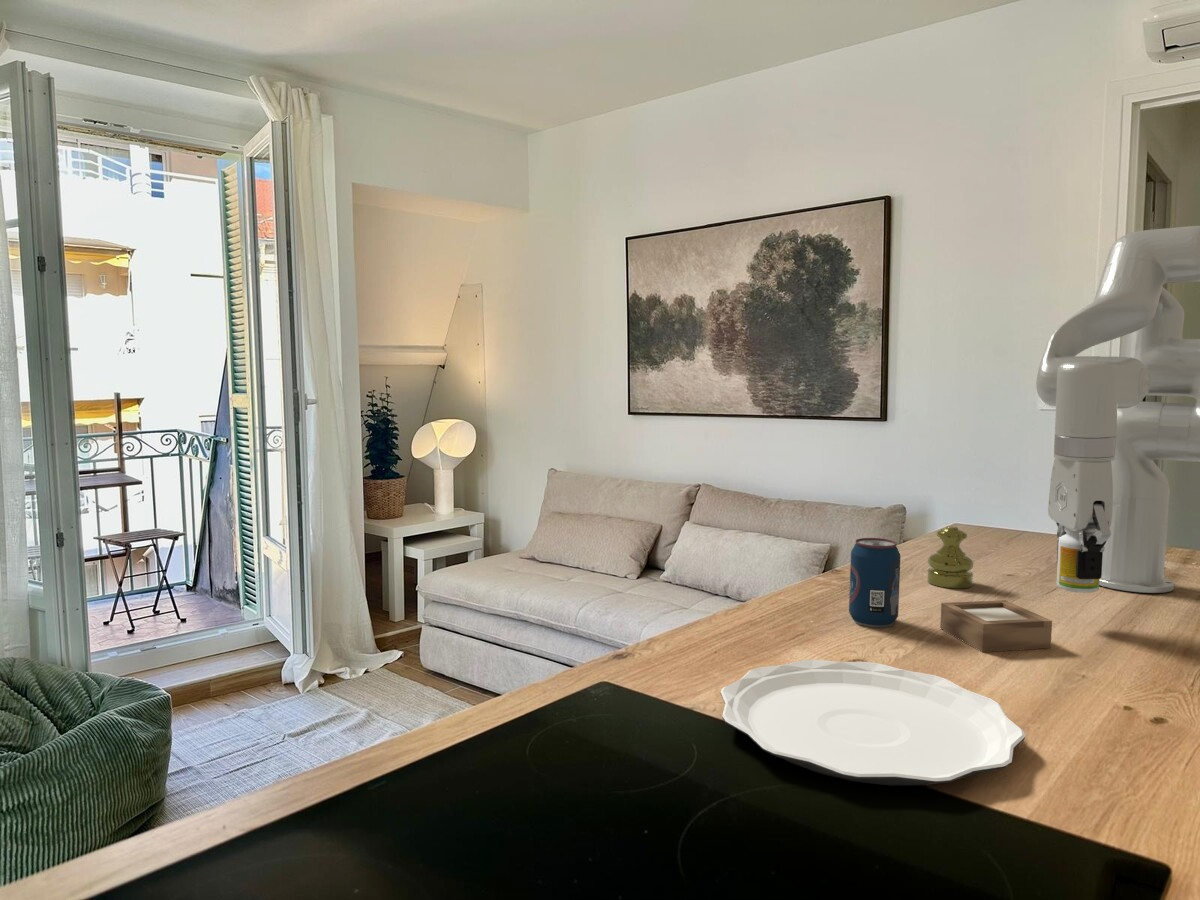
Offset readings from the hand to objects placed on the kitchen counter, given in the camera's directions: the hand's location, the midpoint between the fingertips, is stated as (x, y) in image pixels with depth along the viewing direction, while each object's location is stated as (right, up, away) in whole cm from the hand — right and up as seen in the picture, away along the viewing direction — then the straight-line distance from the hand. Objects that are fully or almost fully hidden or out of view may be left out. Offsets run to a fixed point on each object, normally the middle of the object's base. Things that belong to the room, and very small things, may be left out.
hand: (1078, 570), depth 121 cm
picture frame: (-14, -9, -5) cm, 17 cm away
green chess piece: (-8, -6, +25) cm, 27 cm away
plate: (-42, -12, -34) cm, 55 cm away
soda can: (-29, -8, +3) cm, 30 cm away
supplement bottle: (0, -3, 0) cm, 3 cm away
